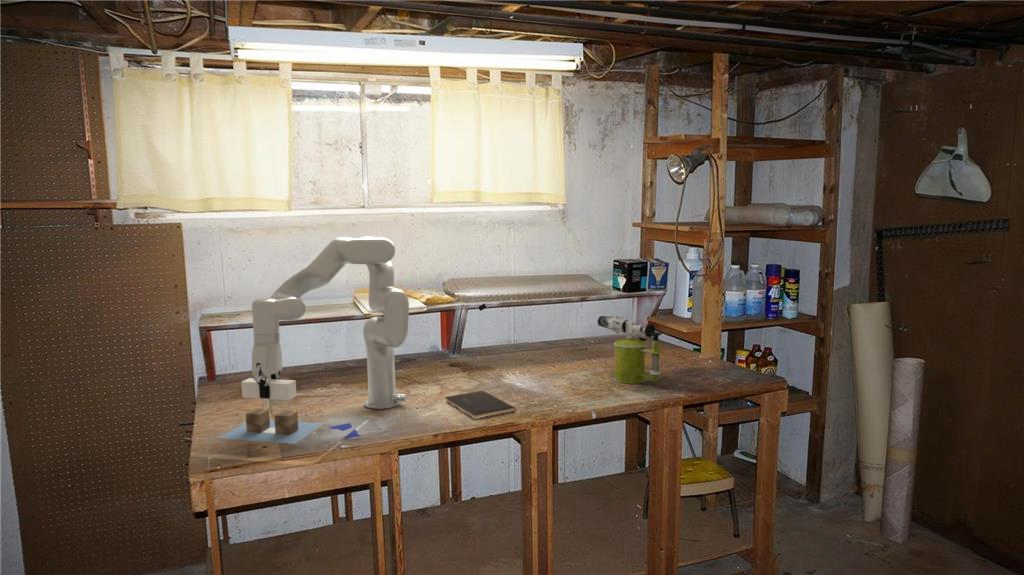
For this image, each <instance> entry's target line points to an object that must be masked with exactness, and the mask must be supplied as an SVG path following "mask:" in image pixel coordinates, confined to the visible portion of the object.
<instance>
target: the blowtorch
mask: <svg viewBox="0 0 1024 575" xmlns="http://www.w3.org/2000/svg"><path fill="white" fill-rule="evenodd" d="M597 324H598V326H599V327H602V328H604V329H608V330H610V331H613V332H614V333H616V334H620V333H624V334H625V333H626V334H627V337H626V338H625V339H620V340H617V341H614V344H613V345H614V376H613V378H612V379H613V381H614V380H615V381H614V382H616V381H618V382H617V383H619V382H621V383H620V384H624V383H629V385H637V384H638V385H639V384H644V383H645V382H646V379H650V380H651V381H654V382H656V381H658V380H660V378H661V371H660V354H664V350H660V349H659V348H660V343H661V341H659V336H661V335H662V334H663V333H662V332H658V331H656V327H655V325H654V324H651V323H650V324H647V325H646V327H645V326H644V325H642V324H638V325H637V324H636V322H635V321H632V320H630V319H627V318H625V317H623V316H621V315H616V316H606V315H600V316H598V318H597ZM635 332H637V333H639V334H640V335H641V337H640V336H639V337H638V339H636V338H635V339H634V336H633V334H635ZM646 337H648V338H652V339H653V340H652V341H651V344H652V349H646V345H647V344H646V341H647V339H646ZM646 352H647V353H649V354H651V370H649V373H647V372H646V370H645V368H646V367H645V366H646V365H645V364H646V362H645V361H646V360H645V359H646Z"/></svg>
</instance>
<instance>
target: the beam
mask: <svg viewBox="0 0 1024 575" xmlns="http://www.w3.org/2000/svg"><path fill="white" fill-rule="evenodd" d="M253 378H254V377H249V378H247V379H244V380H242V381H240V385H241V397H242V398H245V399H246V398H248V399H263V400H264V399H265V400H283V401H284V400H285V401H290V400H292V399H294V398H295V397H297V381H296V380H295V379H294V380H292V379H280V380H278V379H270V378H268V386H269V389H270V398H268V399H267V398H260V393H259V386H258V383H257V382H256V381H255V380H254V379H253ZM262 379H263V380H264V381H265V378H262Z"/></svg>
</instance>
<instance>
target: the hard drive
mask: <svg viewBox="0 0 1024 575" xmlns="http://www.w3.org/2000/svg"><path fill="white" fill-rule="evenodd" d="M352 428H353V425H352V424H351V423H344V424H337V425H336V424H335V425H331V426H328V429H330V430H340V432H343V431H347V430H349V429H352ZM357 438H358V439H361V435H360V434H359V433H358V431H357V429H356V428H354V429H353V430H352V431H351V432H350V433H348V434H346V435H345V436H344V437H342V438H341V439H340V440H339V441H340V442H345V440H346V441H351V439H352V440H357Z"/></svg>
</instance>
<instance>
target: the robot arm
mask: <svg viewBox="0 0 1024 575" xmlns="http://www.w3.org/2000/svg"><path fill="white" fill-rule="evenodd" d="M395 254H396V248H395V244H394V243H393V241H392V240H390V239H388V238H386V237H377V236H376V237H375V236H362V237H359V238H357V237H356V238H355V237H354V238H353V237H346V236H345V237H344V236H343V237H336V238H334V239H332V240H331V241H330V242H329V243H328V244H327V246H325V248H324V249H322V251H321V252H320V253H319V254H318V255H317V256H316V257H315V258H314V259H313V260H312V262H311V263H309V264H308V265H307V266H306V267H305V268H303V269H301V270H299V271H298V272H297V273H295V274H294V275H292V276H291V277H289V278H288V279H286V280H285V281H284V282H283V283H282V284H281V285H280V286H279V287H278V288H277V289H276V290H275V291H274V293H272V295H271V296H270V297H264V298H256V299H254V300H253V301H252V303H251V310H252V311H251V312H252V329H253V345H252V352H251V374H252V376H253V377H252V378H253V379H254V380H255V381H256V382H257V383H258V386H259V393H260V398H259V399H262V398H267V399H266V400H269V399H268V398H270V389H269V386H268V379H278V380H281V379H280V376H281V374H282V373H281V372H282V371H283V368H284V367H283V359H282V358H283V357H282V356H283V355H282V348H281V344H280V342H281V341H280V340H281V338H280V321H297V320H299V319H301V318H302V317H303V316H304V315H305V313H306V311H307V310H306V309H307V306H306V304H305V302H304V301H303V300H302V299H301V297H303V295H306V294H307V293H308V292H311V291H313V290H317V289H319V288H322V287H324V286H326V285H328V284H329V283H330V282H331V281H332V280H333V279H334V278H335V277H336V276H337V275H338V273H339V272H340V271H341V270H342V269H343V268H344V267H345V266H346V265H347V264H350V265H365V266H366V267H367V270H368V273H369V276H368V278H369V281H368V282H369V284H368V286H369V287H368V306H369V309H370V310H371V311H373V312H375V313H377V314H378V313H379V314H381V315H382V314H383V315H384V316H372V317H370V318H368V320H366V322H365V323H364V326H363V333H362V334H363V339H364V343H365V348H366V366H367V385H368V386H367V388H368V389H367V390H368V398H367V399H366V400H364V406H365V407H366V408H368V409H372V408H373V410H374V409H375V410H383V409H385V410H386V409H390V408H395V407H397V406H399V405H400V404H401V402H406V401H407V395H406V394H400V393H399V390H398V389H396V371H395V369H396V367H395V361H396V360H395V353H394V348H398V347H401V346H402V345H403V344H404V343H406V342H405V341H406V340H407V336H408V331H409V318H410V317H409V316H410V315H409V312H410V303H409V298H408V295H407V294H406V293H405V292H404V291H403V290H402V289H399V288H396V287H395V272H394V271H395V270H394V267H393V263H392V261H391V260H392V259H394V256H395ZM263 379H265V381H264V380H263Z"/></svg>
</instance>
